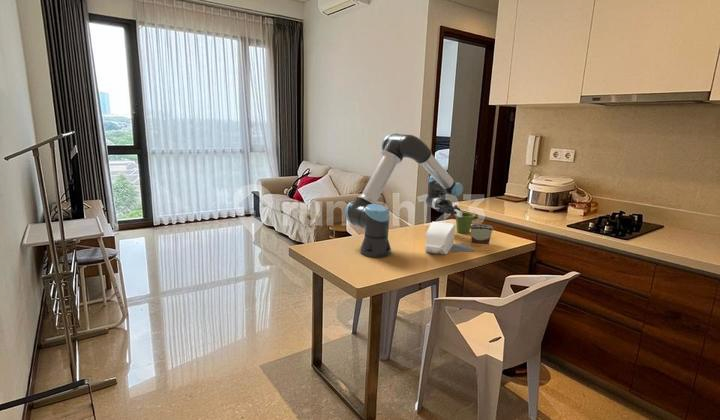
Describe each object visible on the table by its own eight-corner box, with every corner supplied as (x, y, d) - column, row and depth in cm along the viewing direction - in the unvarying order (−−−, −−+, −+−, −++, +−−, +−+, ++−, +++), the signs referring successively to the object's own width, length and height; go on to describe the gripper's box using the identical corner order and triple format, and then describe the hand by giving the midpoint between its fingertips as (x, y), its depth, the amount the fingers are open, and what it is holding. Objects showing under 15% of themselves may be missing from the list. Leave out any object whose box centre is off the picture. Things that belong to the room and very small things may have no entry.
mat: (446, 252, 194) (446, 251, 194) (436, 245, 205) (436, 244, 205) (474, 250, 198) (474, 250, 198) (463, 243, 209) (463, 243, 209)
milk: (454, 223, 203) (446, 238, 180) (453, 244, 206) (444, 261, 183) (432, 221, 208) (421, 235, 185) (431, 241, 211) (420, 257, 187)
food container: (489, 241, 215) (490, 224, 213) (491, 244, 209) (493, 227, 207) (466, 240, 216) (468, 223, 214) (468, 243, 210) (470, 225, 208)
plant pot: (449, 230, 236) (451, 212, 233) (466, 229, 239) (468, 211, 236) (458, 235, 224) (460, 216, 222) (476, 234, 227) (478, 216, 225)
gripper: (450, 211, 222) (471, 221, 200) (429, 211, 219) (448, 222, 197) (451, 198, 221) (472, 207, 198) (430, 198, 218) (450, 207, 195)
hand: (460, 214), depth 198 cm, fingers closed
